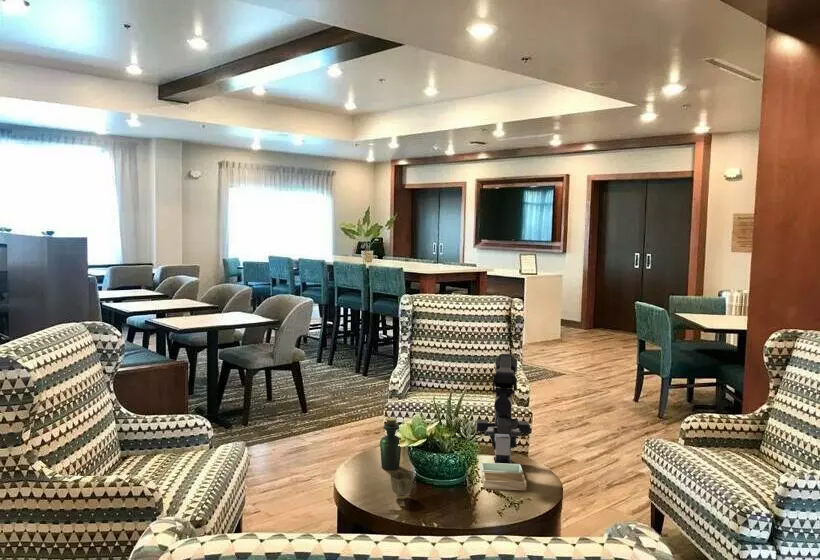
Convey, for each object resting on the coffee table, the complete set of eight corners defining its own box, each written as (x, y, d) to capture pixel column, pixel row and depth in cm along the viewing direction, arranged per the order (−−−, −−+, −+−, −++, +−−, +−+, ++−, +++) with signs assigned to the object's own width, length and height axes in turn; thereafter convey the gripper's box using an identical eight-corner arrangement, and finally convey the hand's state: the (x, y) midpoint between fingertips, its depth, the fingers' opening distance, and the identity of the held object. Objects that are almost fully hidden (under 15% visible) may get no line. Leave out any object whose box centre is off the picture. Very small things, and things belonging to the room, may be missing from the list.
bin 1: (480, 471, 230) (480, 462, 230) (519, 473, 229) (520, 464, 229) (481, 480, 222) (482, 470, 222) (522, 482, 221) (523, 472, 221)
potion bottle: (400, 463, 238) (401, 415, 236) (402, 470, 229) (403, 421, 228) (378, 463, 236) (379, 416, 235) (380, 471, 228) (381, 422, 227)
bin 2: (482, 481, 221) (482, 471, 220) (523, 483, 220) (523, 473, 220) (483, 491, 212) (483, 480, 212) (526, 493, 211) (526, 482, 211)
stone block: (494, 450, 228) (494, 433, 227) (508, 450, 227) (508, 434, 227) (495, 454, 223) (496, 438, 222) (509, 455, 222) (510, 438, 222)
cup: (401, 492, 210) (402, 468, 209) (417, 498, 205) (418, 474, 204) (385, 498, 205) (385, 473, 204) (400, 505, 199) (401, 480, 199)
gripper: (478, 411, 217) (476, 456, 218) (533, 413, 216) (531, 458, 217) (476, 403, 228) (475, 446, 229) (528, 405, 227) (527, 448, 228)
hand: (502, 449), depth 225 cm, fingers closed on stone block, 5 cm apart
